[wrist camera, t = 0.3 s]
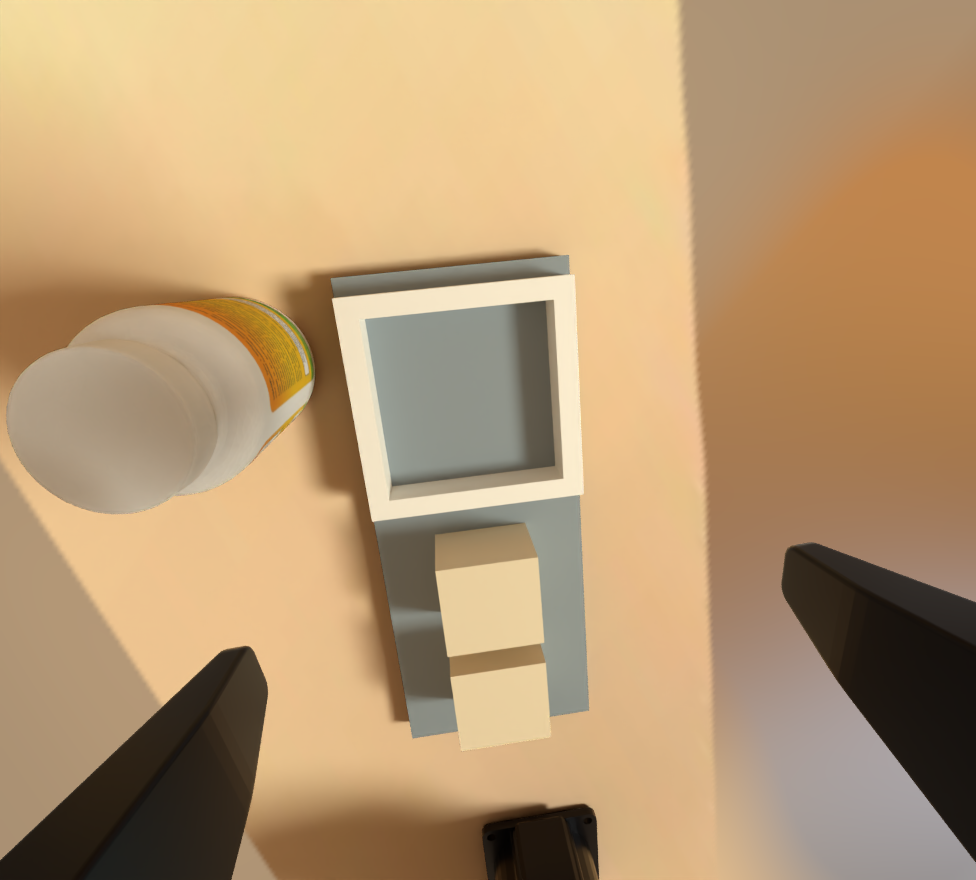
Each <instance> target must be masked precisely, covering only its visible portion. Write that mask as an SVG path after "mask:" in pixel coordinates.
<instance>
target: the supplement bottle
mask: <svg viewBox="0 0 976 880" xmlns="http://www.w3.org/2000/svg"><path fill="white" fill-rule="evenodd" d="M314 382H315V364H314V359H313V355H312V352H311V349H310V346H309V344H308V342H307V340H306V338H305V336H304V335H303V333H302V332H301V330H300V329H299V328H298V326H297V325H296V324H295V323H294V322H293V321H292V320H291V319H290V318H288V317H287V316H286V315H285V314H283V313H282V312H281V311H279V310H277V309H276V308H274V307H272V306H270V305H268V304H265V303H263V302H260V301H257V300H253V299H248V298H239V297H226V298H216V299H207V300H197V301H187V302H177V303H165V304H154V305H144V306H137V307H131V308H126V309H122V310H118V311H116V312H113V313H110V314H108V315H105V316H103V317H101V318H99V319H97V320H95V321H94V322H92V323H91V324H89V325H88V326H86V327H85V328H84V329H83V330H82V331H81V332H79V333H78V334H77V335H76V336H75V337H74V339H73V340H72V341H71V342H70V344H69V345H68V347H66V348H62V349H58V350H56V351H53V352H50V353H48V354H46V355H44V356H42V357H40V358H39V359H37V360H36V361H35V362H33V363H32V364H31V365H29V366H28V367H27V368H26V369H25V370H24V371H23V372H22V373H21V375H20V376H19V377H18V379H17V381H16V382H15V384H14V386H13V388H12V389H11V392H10V395H9V399H8V404H7V411H6V422H7V430H8V434H9V437H10V440H11V443H12V446H13V448H14V451H15V453H16V455H17V457H18V458H19V460H20V461H21V463H22V464H23V466H24V467H25V469H26V470H27V471H28V473H29V474H30V475H31V476H32V477H33V478H34V479H35V480H36V481H37V482H38V483H39V484H40V485H42V486H43V487H44V488H45V489H47V490H48V491H49V492H51V493H52V494H53V495H55V496H57V497H58V498H60V499H62V500H63V501H65V502H67V503H70V504H72V505H74V506H77V507H80V508H83V509H86V510H89V511H93V512H98V513H105V514H130V513H137V512H141V511H145V510H148V509H151V508H154V507H156V506H158V505H160V504H162V503H164V502H166V501H168V500H169V499H170V498H172V497H173V496H181V495H191V494H196V493H200V492H204V491H208V490H210V489H213V488H216V487H218V486H220V485H222V484H224V483H226V482H227V481H229V480H230V479H232V478H234V477H235V476H236V475H237V474H239V473H240V472H241V471H242V470H244V469H245V468H246V467H247V466H248V465H249V464H250V463H251V462H252V461H253V460H254V459H255V458H256V457H257V456H258V455H259V454H260V453H261V452H262V451H263V450H264V449H265V448H266V447H267V446H268V445H269V444H270V443H271V442H272V441H273V440H274V439H275V438H276V437H277V436H278V435H279V434H280V433H281V432H282V431H283V430H284V429H285V428H286V427H287V426H288V425H289V424H290V423H291V422H292V421H293V420H294V419H295V418H296V417H297V416H298V415H299V414H300V413H301V411H302V410H303V409H304V407H305V406H306V404H307V402H308V401H309V399H310V396H311V394H312V391H313V387H314Z"/></svg>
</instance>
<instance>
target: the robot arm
mask: <svg viewBox="0 0 976 880" xmlns="http://www.w3.org/2000/svg"><path fill="white" fill-rule="evenodd" d="M782 592H783V594H784V597H785V599H786V601H787V603H788V604H789V606H790V607H791V609H792V611H793V612H794V614H795V615H796V617H797V619H798V620H799V622H800V623H801V625H802V626H803V628H804V630H805V631H806V633H807V634H808V636H809V638H810V639H811V641H812V642H813V644H814V646H815V647H816V649H817V650H818V652H819V654H820V655H821V657H822V658H823V660H824V661H825V663H826V665H827V666H828V668H829V669H830V671H831V672H832V674H833V675H834V677H835V678H836V680H837V681H838V683H839V684H840V685H841V687H842V688H843V689H844V691H845V692H846V694H847V695H848V696H849V698H850V699H851V700H852V701H853V703H854V704H855V705H856V707H857V708H858V709H859V711H860V712H861V713H862V715H863V716H864V717H865V718H866V720H867V721H868V722H869V724H870V725H871V726H872V728H873V729H874V730H875V732H876V733H877V734H878V735H879V737H880V738H881V739H882V741H883V742H884V743H885V744H886V746H887V747H888V748H889V750H890V751H891V752H892V754H893V755H894V756H895V758H896V759H897V760H898V761H899V763H900V764H901V765H902V767H903V768H904V769H905V771H906V772H907V773H908V775H909V776H910V777H911V778H912V780H913V781H914V782H915V784H916V785H917V786H918V788H919V789H920V790H921V791H922V793H923V794H924V795H925V797H926V798H927V799H928V801H929V802H930V803H931V805H932V806H933V807H934V809H935V810H936V811H937V812H938V814H939V815H940V816H941V818H942V819H943V820H944V822H945V823H946V824H947V825H948V827H949V828H950V829H951V831H952V832H953V833H954V835H955V836H956V837H957V839H958V840H959V841H960V842H961V844H962V845H963V846H964V848H965V849H966V850H967V852H968V853H969V854H970V856H971V857H972V858H973V859H974V861H975V862H976V602H973V601H971V600H968V599H966V598H962V597H960V596H958V595H955V594H952V593H949V592H947V591H944V590H941V589H938V588H936V587H933V586H930V585H928V584H925V583H922V582H920V581H917V580H914V579H912V578H909V577H906V576H903V575H900V574H898V573H895V572H893V571H890V570H887V569H885V568H882V567H879V566H876V565H873V564H871V563H868V562H866V561H863V560H860V559H858V558H855V557H852V556H849V555H847V554H844V553H841V552H839V551H836V550H833V549H830V548H828V547H825V546H822V545H820V544H817V543H804V544H798V545H793V546H790V547H789V548H788V549H787V550H786V553H785V559H784V568H783V576H782ZM267 697H268V687H267V682H266V679H265V677H264V674H263V672H262V670H261V667H260V665H259V662H258V660H257V658H256V655H255V653H254V651H253V650H252V648H250V647H249V646H241V647H236V648H231V649H226V650H223V651H221V652H220V653H219V654H218V655H217V656H216V657H215V658H213V659H212V660H211V661H210V662H209V663H208V664H207V665H206V666H205V667H204V668H203V669H202V670H201V671H200V672H199V673H198V674H197V675H195V676H194V677H193V678H192V679H191V680H190V681H189V682H188V683H187V684H186V685H185V686H184V687H183V688H182V689H181V690H180V691H179V692H178V693H176V694H175V695H174V696H173V697H172V698H171V699H170V700H169V701H168V702H167V703H166V704H165V705H164V706H163V707H162V708H161V709H160V710H159V711H157V713H155V714H154V715H153V716H152V717H151V718H150V719H149V720H148V721H147V722H146V723H145V724H144V725H143V726H142V727H141V728H140V729H138V730H137V731H136V732H135V733H134V734H133V735H132V736H131V737H130V738H129V739H128V740H127V741H126V742H125V743H124V744H123V745H122V746H120V747H119V748H118V749H117V750H116V751H115V752H114V753H113V754H112V755H111V756H110V757H109V758H108V759H107V760H106V761H105V762H104V763H103V764H102V765H100V766H99V768H97V769H96V770H95V771H94V772H93V773H92V774H91V775H90V776H89V777H88V778H87V779H86V780H85V781H84V782H83V783H81V784H80V785H79V786H78V787H77V788H76V789H75V790H74V791H73V792H72V793H71V794H70V795H69V796H68V797H67V798H66V799H65V800H63V802H62V803H60V804H59V805H58V806H57V807H56V808H55V809H54V810H53V811H52V812H51V813H50V814H49V815H48V816H47V817H45V819H43V821H41V822H40V823H39V824H38V825H37V826H36V827H35V828H34V829H33V830H32V831H31V832H30V833H29V834H27V835H26V836H25V837H24V838H23V839H22V840H21V841H20V842H19V843H18V844H17V845H16V846H15V847H14V848H13V849H12V850H11V851H9V853H7V854H6V855H5V856H4V857H3V858H2V859H1V860H0V880H231V879H232V875H233V871H234V867H235V863H236V859H237V855H238V851H239V847H240V844H241V839H242V836H243V832H244V828H245V824H246V820H247V816H248V812H249V808H250V803H251V799H252V794H253V789H254V783H255V777H256V770H257V764H258V757H259V751H260V744H261V737H262V731H263V724H264V717H265V711H266V704H267ZM482 838H483V846H484V853H485V860H486V868H487V875H488V880H599V868H598V845H597V821H596V816H595V813H594V810H593V809H592V808H580V809H574V810H568V811H563V812H557V813H551V814H545V815H539V816H533V817H527V818H522V819H516V820H510V821H504V822H498V823H492V824H488V825H486V826H484V828H483V829H482Z"/></svg>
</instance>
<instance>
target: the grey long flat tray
mask: <svg viewBox="0 0 976 880" xmlns="http://www.w3.org/2000/svg"><path fill="white" fill-rule="evenodd" d="M331 284H332V289H333V295H334V298H332V302H333V307H334V313H335V318H336V324H337V329H338V335H339V341H340V346H341V352H342V357H343V363H344V368H345V374H346V380H347V385H348V391H349V396H350V402H351V407H352V413H353V419H354V424H355V430H356V435H357V441H358V446H359V452H360V458H361V463H362V469H363V474H364V480H365V485H366V491H367V497H368V502H369V508H370V513H371V519H372V522H374V525H375V530H376V536H377V542H378V547H379V553H380V558H381V564H382V570H383V575H384V581H385V586H386V592H387V598H388V603H389V609H390V614H391V620H392V626H393V631H394V637H395V643H396V648H397V654H398V659H399V665H400V671H401V676H402V682H403V687H404V693H405V699H406V704H407V710H408V715H409V721H410V727H411V732H412V738H418V737H424V736H431V735H437V734H443V733H450V732H456V731H458V734H459V741H460V748H461V752H462V751H468V750H474V749H481V748H487V747H493V746H499V745H506V744H512V743H518V742H524V741H530V740H537V739H543V738H549V737H551V726H550V717H551V716H557V715H564V714H570V713H576V712H583V711H589V699H588V676H587V654H586V631H585V609H584V586H583V564H582V541H581V518H580V496H579V495H583V494H584V487H583V463H582V439H581V415H580V391H579V367H578V343H577V319H576V295H575V274H570V271H569V255H564V256H553V257H543V258H533V259H523V260H512V261H502V262H492V263H482V264H472V265H461V266H451V267H441V268H431V269H420V270H410V271H400V272H390V273H379V274H369V275H359V276H349V277H338V278H331Z"/></svg>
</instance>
